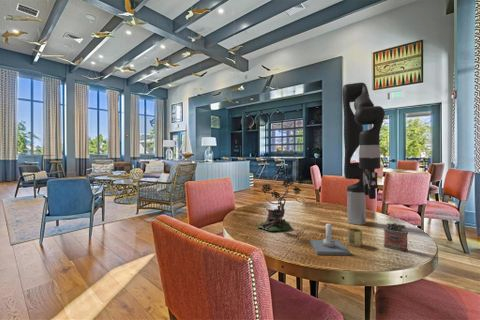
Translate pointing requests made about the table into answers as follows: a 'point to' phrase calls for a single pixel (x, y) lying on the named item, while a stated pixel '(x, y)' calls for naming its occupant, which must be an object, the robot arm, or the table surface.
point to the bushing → (354, 237)
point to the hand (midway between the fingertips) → (369, 196)
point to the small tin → (395, 237)
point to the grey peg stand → (329, 245)
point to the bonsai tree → (276, 216)
